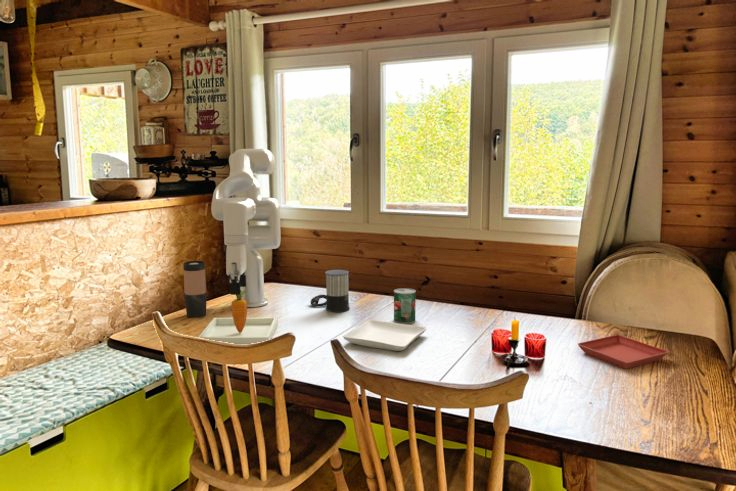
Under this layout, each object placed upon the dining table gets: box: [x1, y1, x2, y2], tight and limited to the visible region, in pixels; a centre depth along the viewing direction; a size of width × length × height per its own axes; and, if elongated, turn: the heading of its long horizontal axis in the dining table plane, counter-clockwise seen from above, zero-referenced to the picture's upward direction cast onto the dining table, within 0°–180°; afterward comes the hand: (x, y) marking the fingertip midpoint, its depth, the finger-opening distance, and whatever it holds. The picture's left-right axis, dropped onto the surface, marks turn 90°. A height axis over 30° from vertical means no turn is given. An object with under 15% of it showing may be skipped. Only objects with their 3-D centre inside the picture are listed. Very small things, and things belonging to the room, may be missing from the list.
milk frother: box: [310, 269, 350, 313], centre depth 223 cm, size 14×16×15 cm
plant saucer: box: [577, 334, 669, 370], centre depth 169 cm, size 18×18×3 cm
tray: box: [197, 316, 279, 344], centre depth 189 cm, size 22×22×3 cm
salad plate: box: [342, 319, 427, 352], centre depth 184 cm, size 21×21×3 cm
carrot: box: [231, 289, 248, 333], centre depth 189 cm, size 5×5×15 cm
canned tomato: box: [393, 287, 417, 325], centre depth 206 cm, size 8×8×11 cm
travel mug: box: [182, 260, 207, 319], centre depth 212 cm, size 8×8×20 cm
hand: (238, 290), depth 187 cm, fingers open, 9 cm apart
